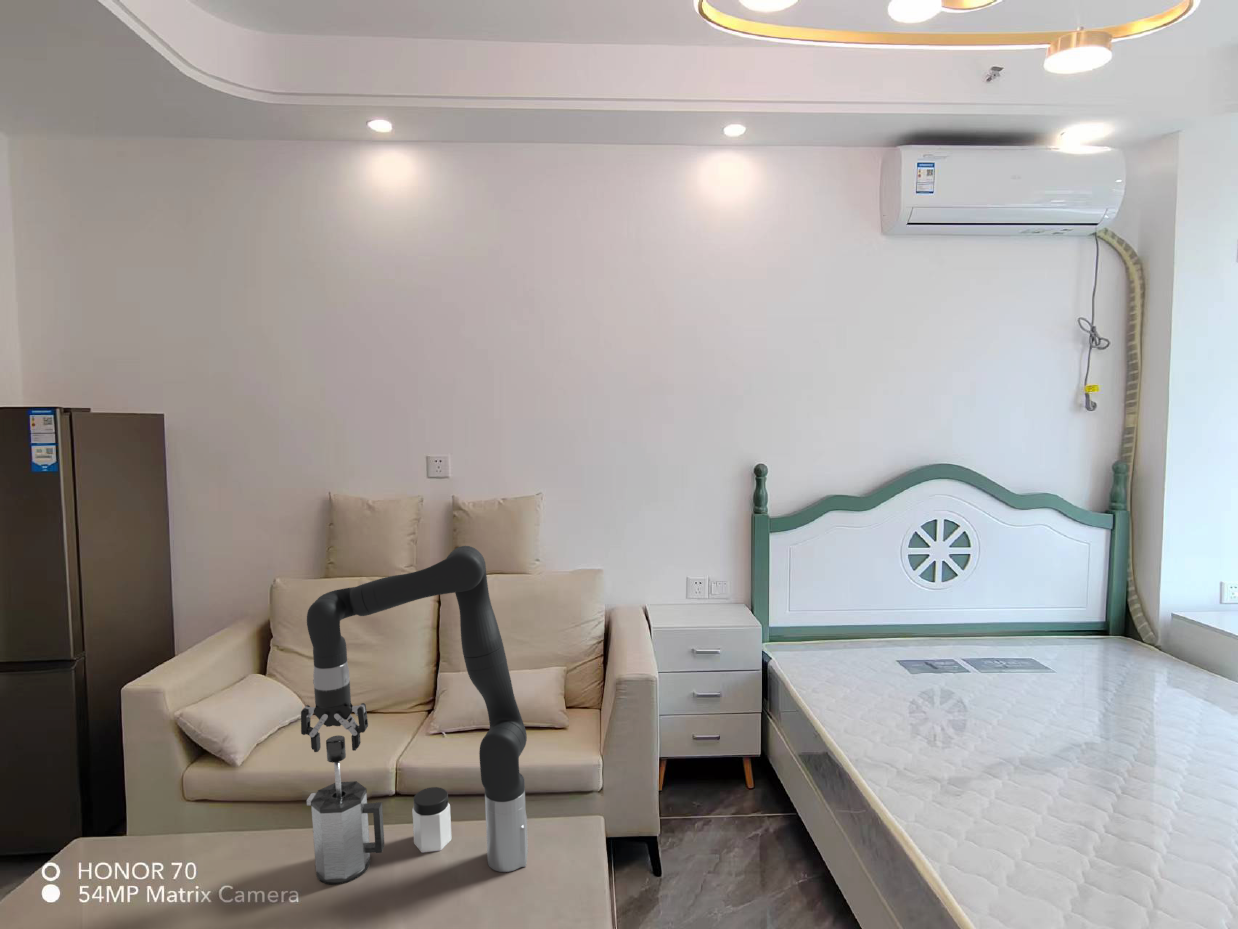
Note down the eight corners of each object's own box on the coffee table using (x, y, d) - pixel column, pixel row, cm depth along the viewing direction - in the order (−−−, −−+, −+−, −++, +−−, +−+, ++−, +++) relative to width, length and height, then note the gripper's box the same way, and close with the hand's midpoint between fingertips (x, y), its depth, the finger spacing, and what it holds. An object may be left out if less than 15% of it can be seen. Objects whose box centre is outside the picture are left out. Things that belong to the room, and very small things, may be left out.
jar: (456, 843, 179) (454, 797, 177) (425, 858, 173) (422, 810, 172) (440, 826, 185) (438, 782, 184) (409, 840, 180) (407, 794, 179)
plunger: (352, 817, 171) (347, 735, 169) (346, 828, 167) (341, 743, 165) (335, 818, 171) (329, 735, 169) (329, 828, 167) (323, 744, 165)
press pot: (390, 849, 177) (386, 779, 175) (377, 882, 165) (372, 808, 163) (323, 852, 176) (318, 781, 174) (304, 886, 164) (299, 811, 162)
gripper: (368, 674, 169) (372, 740, 171) (306, 676, 169) (310, 742, 170) (358, 687, 162) (363, 757, 164) (293, 690, 161) (298, 759, 163)
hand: (336, 749), depth 167 cm, fingers open, 8 cm apart
